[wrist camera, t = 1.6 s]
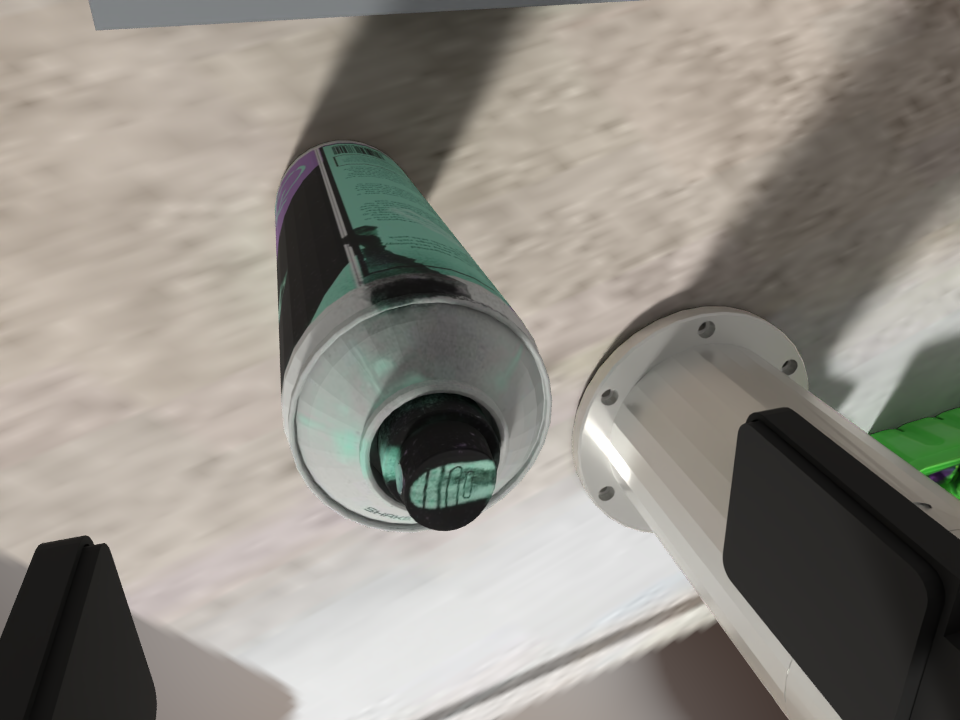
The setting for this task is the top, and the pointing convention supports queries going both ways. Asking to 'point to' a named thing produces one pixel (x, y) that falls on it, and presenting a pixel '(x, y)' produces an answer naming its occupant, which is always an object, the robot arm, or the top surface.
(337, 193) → the spray can
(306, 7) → the bin
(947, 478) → the fruit basket
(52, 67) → the top surface
